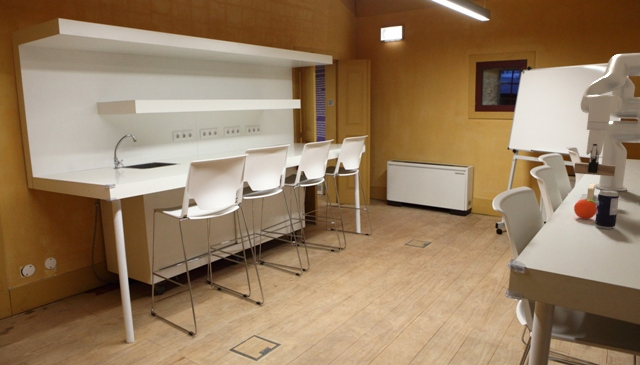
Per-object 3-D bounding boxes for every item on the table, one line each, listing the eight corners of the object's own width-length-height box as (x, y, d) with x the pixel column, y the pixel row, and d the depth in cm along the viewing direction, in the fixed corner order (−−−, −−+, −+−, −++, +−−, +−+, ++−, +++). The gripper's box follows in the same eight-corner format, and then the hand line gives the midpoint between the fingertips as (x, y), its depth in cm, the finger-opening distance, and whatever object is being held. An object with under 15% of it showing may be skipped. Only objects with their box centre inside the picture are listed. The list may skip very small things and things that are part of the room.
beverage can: (609, 225, 153) (613, 189, 151) (618, 229, 147) (623, 193, 145) (591, 224, 154) (595, 189, 151) (600, 229, 148) (604, 192, 146)
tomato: (599, 218, 162) (602, 198, 161) (598, 222, 156) (601, 202, 155) (574, 215, 166) (576, 196, 165) (572, 219, 160) (574, 199, 159)
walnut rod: (574, 171, 192) (575, 162, 191) (614, 175, 184) (615, 165, 183) (573, 173, 188) (574, 163, 188) (614, 176, 181) (615, 166, 180)
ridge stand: (582, 196, 200) (583, 182, 199) (601, 197, 196) (602, 184, 195) (578, 203, 185) (579, 188, 184) (598, 205, 181) (600, 190, 180)
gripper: (588, 125, 192) (583, 169, 195) (585, 127, 178) (580, 173, 182) (609, 126, 188) (604, 170, 191) (608, 127, 174) (602, 175, 177)
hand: (592, 171), depth 186 cm, fingers closed on walnut rod, 4 cm apart
